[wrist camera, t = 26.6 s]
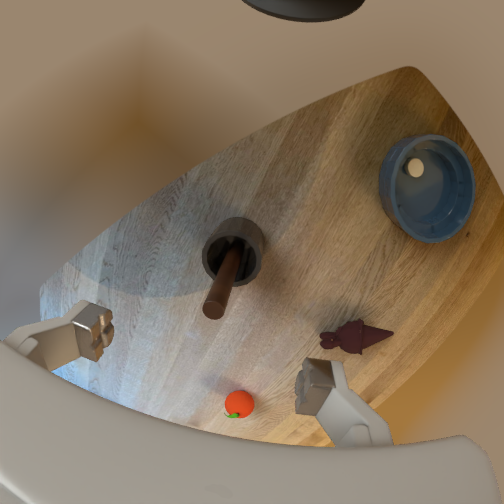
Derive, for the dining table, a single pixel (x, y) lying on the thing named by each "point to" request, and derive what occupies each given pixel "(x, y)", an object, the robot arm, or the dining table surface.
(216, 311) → the stick
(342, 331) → the icecream
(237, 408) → the clementine
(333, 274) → the dining table surface
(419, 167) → the dough
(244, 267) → the holder
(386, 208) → the bowl
